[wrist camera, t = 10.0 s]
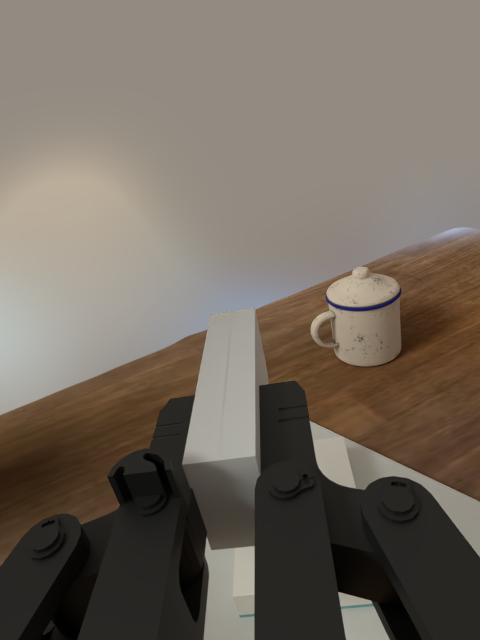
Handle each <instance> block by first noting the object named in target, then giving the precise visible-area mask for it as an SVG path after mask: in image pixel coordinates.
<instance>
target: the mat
mask: <svg viewBox="0 0 480 640" xmlns="http://www.w3.org/2000/svg"><path fill="white" fill-rule="evenodd" d="M310 426H311V432H312V438H313V440H318V439H326V438H334V437H341V436H340V435H338V434H336V433H334V432H332V431H330V430H328V429H326V428H324V427H321V426H319V425H317V424H315V423H313V422H311V421H310ZM343 438H344V442H345V446H346V450H347V454H348V458H349V462H350V466H351V470H352V473H353V477H354V481H355V485H356V489H362V490H365V489H366V487H367V486H368V485H369V484H370V483H372V482H374V481H376V480H377V479H379V478H383V477H390V476H397V477H403V478H409V479H411V480H413V481H415V482H417V483H419V484H421V485H422V486H423V487H425V488H426V489H427V490H428V491H429V492H430V493H431V494H432V495H433V496H434V498H435V499H436V500H437V502H438V503H439V504H440V506H441V507H442V508H443V510H444V511H445V512H446V514H447V515H448V516H449V517H450V519H451V520H452V521H453V523H454V524H455V525H456V527H457V528H458V529H459V531H460V532H461V533H462V534H463V536H464V537H465V538H466V540H467V541H468V542H469V544H470V545H471V546H472V548H473V549H474V550H475V551H476V553H477V554H478V555H479V557H480V502H479V501H477V500H475V499H473V498H471V497H469V496H467V495H465V494H462V493H460V492H458V491H456V490H454V489H452V488H450V487H448V486H446V485H444V484H441V483H439V482H437V481H435V480H433V479H431V478H429V477H427V476H425V475H423V474H420V473H418V472H416V471H414V470H412V469H410V468H408V467H406V466H404V465H401V464H399V463H397V462H395V461H393V460H391V459H389V458H387V457H385V456H383V455H380V454H378V453H376V452H374V451H372V450H370V449H368V448H366V447H364V446H361V445H359V444H357V443H355V442H353V441H351V440H349V439H347V438H345V437H343ZM234 555H235V548H229V549H219V550H211V548H210V545H209V542H208V539H207V538H206V548H205V558H206V561H207V563H208V569H209V583H208V595H207V606H206V617H205V629H204V640H254V616H253V617H241V618H240V616H239V614H238V611H237V608H236V605H235V602H234V599H233V578H234ZM341 612H342V618H343V624H344V630H345V636H346V640H390V639H389V637H388V635H387V633H386V631H385V629H384V627H383V625H382V622H381V620H380V618H379V616H378V614H377V612H376V610H375V608H374V606H370V607H358V608H347V609H341Z"/></svg>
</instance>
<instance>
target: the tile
mask: <svg viewBox="0 0 480 640" xmlns="http://www.w3.org/2000/svg"><path fill="white" fill-rule="evenodd" d="M313 444H314V450H315V456H316V461H317V464H318V467H319V469H320V470H321V472H322V473H323V474H324V475H325V476H326V477H327V478H328V479H330V480H331V481H333V482H335V483H337V484H339V485H342V486H346V487H350V488H356V485H355V481H354V477H353V473H352V470H351V466H350V462H349V458H348V454H347V450H346V446H345V442H344V438H343V436H341V437H334V438H326V439H318V440H313ZM254 582H255V546H250V547H240V548H235V555H234V578H233V599H234V602H235V605H236V608H237V611H238V614H239V616H240V618H241V617H253V616H254ZM338 594H339V600H340V606H341V609H347V608H358V607H370V606H373V603H372V601H370V600H366V599H363V598H359V597H355V596H352V595H348V594H344V593H340V592H338Z"/></svg>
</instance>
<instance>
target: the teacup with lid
mask: <svg viewBox="0 0 480 640" xmlns="http://www.w3.org/2000/svg"><path fill="white" fill-rule="evenodd" d="M400 295H401V288H400V286H399V284H398V283H397V281H396V280H394V279H393V278H391V277H388V276H385V275H381V274H373V273H369V269H368V268H366V267H358V268H355V269H354V270H353V272H352V275H350V276H348V277H345V278H342V279H340V280H338V281H336V282H334V283H333V284H332V285H331V286H330V287H329V288H328V290H327V294H326V300H327V302H328V303H329V311H328V312H325V313H322V314H320V315H319V316H317V317H316V318H315V319H314V321H313V322H312V325H311V335H312V337H313V339H314V341H315V342H316V343H317V344H318V345H320V346H321V347H323V348H334V351H335V354H336V356H337V357H338V358H339V359H340V360H342V361H343V362H345V363H347V364H350V365H354V366H362V367H370V366H377V365H381V364H385V363H387V362H389V361H391V360H393V359H394V358H395V357H397V356H398V354H399V353H400V351H401V326H400V302H399V297H400ZM329 319H331V328H332V336H333V340H330V341H323V340H321V339H320V337H319V334H318V330H319V327H320V325H321V324H322V323H323V322H324V321H326V320H329Z"/></svg>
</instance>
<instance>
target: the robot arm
mask: <svg viewBox="0 0 480 640" xmlns="http://www.w3.org/2000/svg"><path fill="white" fill-rule="evenodd" d="M107 477H108V479H109V482H110V484H111V486H112V488H113V490H114V493H115V495H116V497H117V499H118V501H119V503H120V506H119V508H118V509H117V510H116V511H114V512H112V513H110V514H107V515H105V516H103V517H100V518H98V519H95V520H93V521H90V522H87V523H85V524H82V525H81V524H80V523H79V521H78V520H77V518H76V517H74V516H72V515H69V514H59V515H54V516H51V517H49V518H46V519H44V520H42V521H41V522H39V523H38V524H36V525H35V526H33V527H32V528H31V529H30V530H29V531H28V532H27V533H26V534H25V535H24V536H23V537H22V538H21V540H20V541H19V543H18V544H17V545H16V547H15V548H14V549H13V551H12V552H11V553H10V555H9V556H8V557H7V559H6V560H5V561H4V563H3V564H2V565H1V567H0V640H204V629H205V617H206V606H207V595H208V583H209V569H208V563H207V561H206V558H205V548H206V538H207V539H208V542H209V545H210V548H211V550H219V549H229V548H240V547H250V546H255V582H254V640H346V636H345V630H344V624H343V618H342V612H341V606H340V600H339V594H338V592H340V593H344V594H348V595H352V596H355V597H359V598H363V599H366V600H370V601H372V603H373V606H374V608H375V610H376V612H377V614H378V616H379V618H380V620H381V622H382V625H383V627H384V629H385V631H386V633H387V635H388V637H389V639H390V640H480V557H479V555H478V554H477V553H476V551H475V550H474V549H473V548H472V546H471V545H470V544H469V542H468V541H467V540H466V538H465V537H464V536H463V534H462V533H461V532H460V531H459V529H458V528H457V527H456V525H455V524H454V523H453V521H452V520H451V519H450V517H449V516H448V515H447V514H446V512H445V511H444V510H443V508H442V507H441V506H440V504H439V503H438V502H437V500H436V499H435V498H434V496H433V495H432V494H431V493H430V492H429V491H428V490H427V489H426V488H425V487H423V486H422V485H421V484H419V483H417V482H415V481H413V480H411V479H409V478H403V477H397V476H390V477H383V478H379V479H377V480H376V481H374V482H372V483H370V484H369V485H368V486H367V487H366V489H365V490H362V489H356V488H350V487H346V486H342V485H339V484H337V483H335V482H333V481H331V480H330V479H328V478H327V477H326V476H325V475H324V474H323V473H322V472H321V470H320V469H319V467H318V464H317V461H316V456H315V450H314V444H313V438H312V432H311V426H310V420H309V414H308V408H307V402H306V396H305V391H304V390H303V389H302V388H301V387H300V385H299V384H298V383H297V382H296V381H289V382H281V383H274V384H268V373H267V368H266V363H265V358H264V352H263V347H262V342H261V337H260V332H259V327H258V322H257V316H256V311H255V308H250V309H243V310H238V311H231V312H225V313H218V314H212V315H210V320H209V325H208V330H207V335H206V341H205V346H204V351H203V357H202V362H201V367H200V372H199V378H198V383H197V388H196V394H195V396H188V397H181V398H174V399H170V400H169V401H168V403H167V404H166V405H165V406H164V408H163V409H162V410H161V411H160V414H159V417H158V421H157V424H156V429H155V431H154V435H153V440H152V442H151V445H150V449H143V450H140V451H136V452H133V453H131V454H129V455H128V456H126V457H124V458H122V459H121V460H120V461H119V462H118V463H117V464H116V465H115V466H114V467H113V468H112V470H111V471H110V473H109V475H108V476H107Z"/></svg>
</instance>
